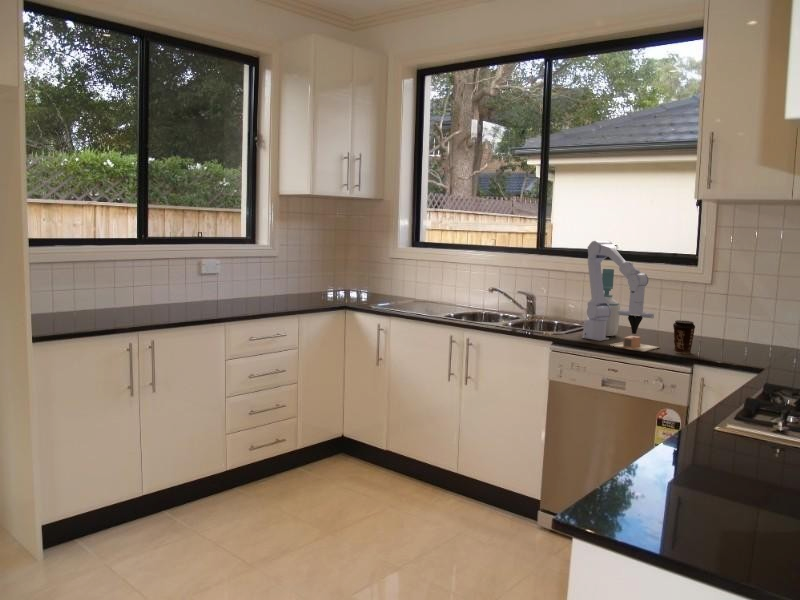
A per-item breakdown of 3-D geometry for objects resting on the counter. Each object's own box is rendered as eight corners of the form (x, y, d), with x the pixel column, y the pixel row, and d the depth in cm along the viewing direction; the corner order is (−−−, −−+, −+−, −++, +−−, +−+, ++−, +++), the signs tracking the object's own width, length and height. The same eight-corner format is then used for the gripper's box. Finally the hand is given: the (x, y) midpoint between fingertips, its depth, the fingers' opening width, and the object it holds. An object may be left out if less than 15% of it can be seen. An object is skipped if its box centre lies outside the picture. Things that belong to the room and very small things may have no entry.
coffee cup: (673, 349, 290) (675, 319, 288) (694, 352, 286) (697, 321, 284) (669, 352, 282) (672, 321, 281) (691, 355, 278) (693, 323, 277)
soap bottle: (589, 336, 317) (594, 268, 314) (590, 332, 329) (594, 267, 325) (617, 338, 314) (622, 270, 310) (617, 334, 326) (622, 268, 322)
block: (631, 344, 295) (622, 346, 290) (632, 335, 294) (623, 337, 289) (640, 346, 292) (631, 348, 287) (640, 337, 292) (632, 338, 286)
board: (608, 345, 294) (608, 344, 294) (624, 342, 303) (625, 341, 303) (644, 351, 282) (644, 350, 282) (659, 348, 292) (659, 347, 292)
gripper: (656, 302, 290) (653, 334, 291) (621, 299, 297) (618, 330, 298) (653, 304, 283) (650, 336, 285) (617, 300, 291) (615, 332, 292)
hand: (634, 333), depth 291 cm, fingers closed
